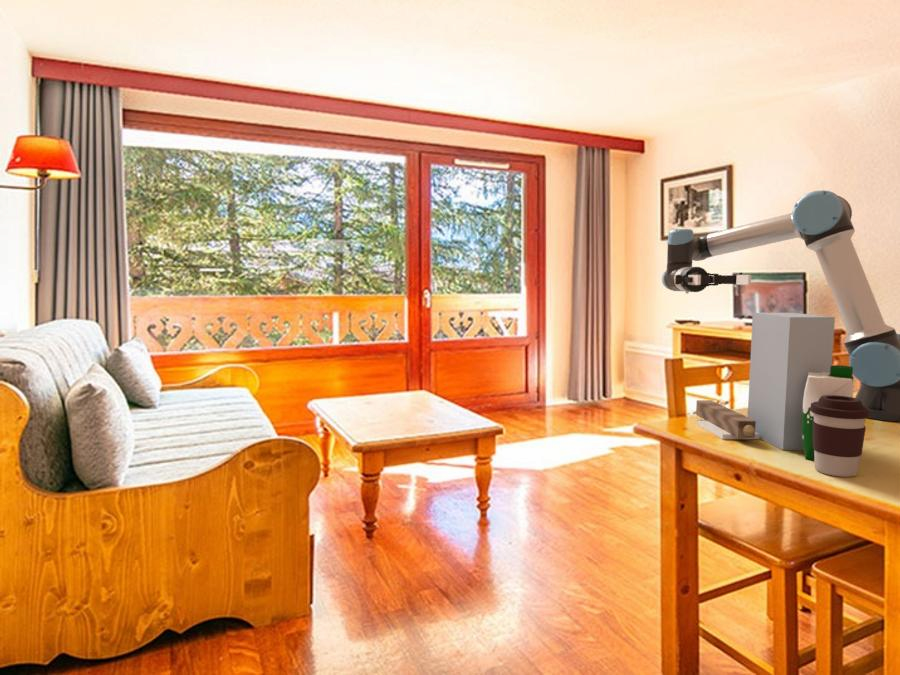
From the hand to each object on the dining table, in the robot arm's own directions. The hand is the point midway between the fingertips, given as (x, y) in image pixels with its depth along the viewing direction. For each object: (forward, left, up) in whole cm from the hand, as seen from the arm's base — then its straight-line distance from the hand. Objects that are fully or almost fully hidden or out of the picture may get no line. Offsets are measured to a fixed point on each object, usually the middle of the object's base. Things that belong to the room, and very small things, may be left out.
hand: (724, 279), depth 163 cm
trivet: (+3, +14, -38) cm, 40 cm away
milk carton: (-10, +35, -38) cm, 53 cm away
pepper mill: (+3, +13, -37) cm, 39 cm away
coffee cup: (-7, +45, -38) cm, 59 cm away
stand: (-8, +21, -38) cm, 44 cm away
